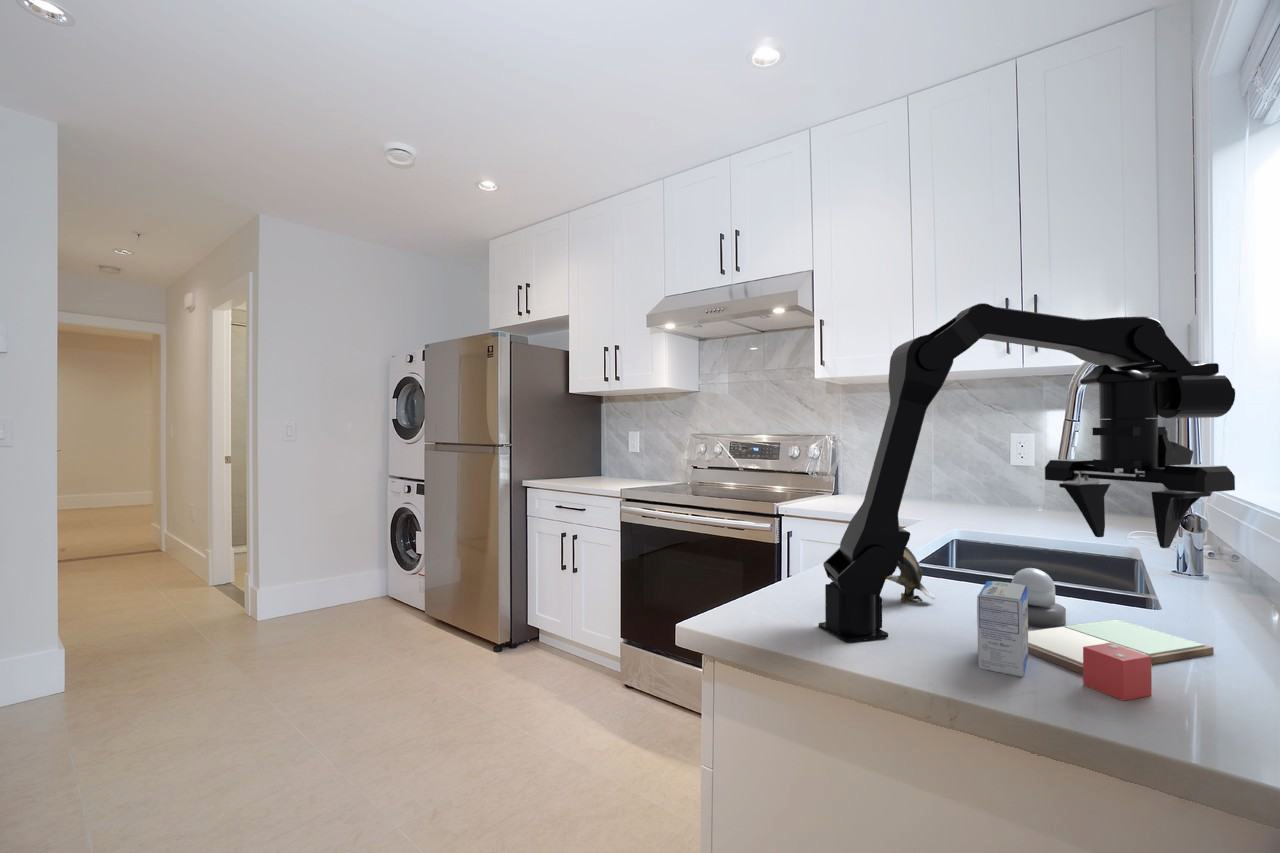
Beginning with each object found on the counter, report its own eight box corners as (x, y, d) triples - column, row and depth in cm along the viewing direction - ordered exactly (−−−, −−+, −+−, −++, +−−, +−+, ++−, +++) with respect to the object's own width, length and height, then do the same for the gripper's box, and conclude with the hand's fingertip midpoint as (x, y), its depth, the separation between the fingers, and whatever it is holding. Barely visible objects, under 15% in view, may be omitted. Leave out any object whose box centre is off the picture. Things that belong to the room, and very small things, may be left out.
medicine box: (1023, 679, 64) (1023, 600, 64) (977, 669, 67) (976, 593, 67) (1028, 656, 71) (1028, 584, 71) (985, 648, 73) (985, 579, 73)
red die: (1123, 700, 59) (1123, 660, 59) (1083, 684, 63) (1083, 646, 63) (1151, 695, 60) (1151, 655, 60) (1110, 679, 64) (1110, 642, 64)
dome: (1036, 611, 81) (1036, 574, 81) (1003, 601, 86) (1002, 565, 86) (1064, 608, 83) (1064, 571, 83) (1030, 598, 88) (1029, 563, 88)
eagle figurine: (877, 594, 97) (877, 540, 97) (922, 595, 96) (922, 540, 96) (892, 608, 90) (892, 549, 90) (941, 610, 89) (941, 550, 89)
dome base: (1037, 630, 80) (1037, 615, 80) (989, 613, 87) (989, 599, 87) (1079, 624, 82) (1079, 610, 82) (1028, 608, 89) (1028, 595, 89)
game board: (1086, 675, 65) (1086, 666, 65) (999, 641, 76) (999, 633, 76) (1213, 653, 71) (1213, 645, 71) (1116, 624, 82) (1116, 617, 82)
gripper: (1265, 416, 68) (1268, 551, 68) (1098, 419, 86) (1100, 526, 86) (1199, 417, 65) (1202, 559, 65) (1040, 420, 83) (1042, 531, 83)
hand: (1130, 542), depth 75 cm, fingers open, 7 cm apart
